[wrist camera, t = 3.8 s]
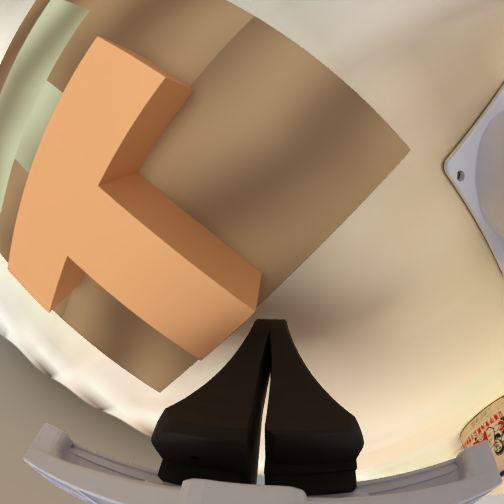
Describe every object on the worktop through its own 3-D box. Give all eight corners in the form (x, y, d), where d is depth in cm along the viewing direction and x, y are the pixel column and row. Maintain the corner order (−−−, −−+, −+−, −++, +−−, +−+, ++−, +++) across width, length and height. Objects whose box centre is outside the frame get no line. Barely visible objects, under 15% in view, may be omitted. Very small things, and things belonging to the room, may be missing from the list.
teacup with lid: (490, 395, 17) (527, 485, 6) (531, 384, 16) (566, 453, 6) (430, 457, 22) (446, 532, 11) (477, 444, 21) (497, 507, 11)
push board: (399, 148, 11) (410, 149, 10) (164, 380, 18) (159, 392, 17) (84, -43, 7) (74, -48, 6) (-27, 197, 14) (-37, 201, 13)
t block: (330, 201, 11) (346, 223, 8) (174, 358, 15) (157, 397, 13) (135, 52, 9) (97, 36, 6) (40, 247, 13) (7, 268, 11)
